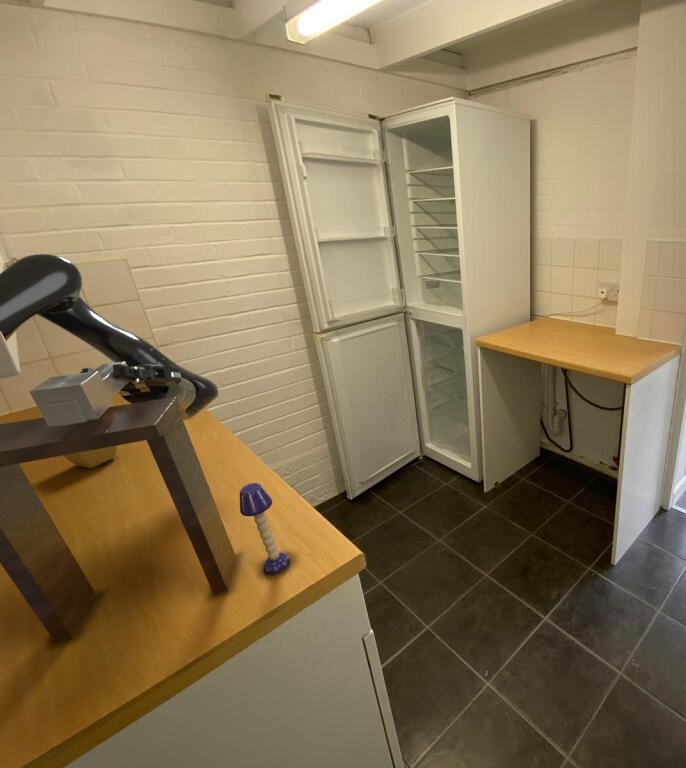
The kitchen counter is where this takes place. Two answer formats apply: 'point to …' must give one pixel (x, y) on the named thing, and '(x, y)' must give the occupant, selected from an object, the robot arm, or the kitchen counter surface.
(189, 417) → the robot arm
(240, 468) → the kitchen counter surface
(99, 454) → the flower pot
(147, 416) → the dark brown arch frame
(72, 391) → the silver stand
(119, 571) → the kitchen counter surface
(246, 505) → the toy lamp
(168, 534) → the kitchen counter surface
